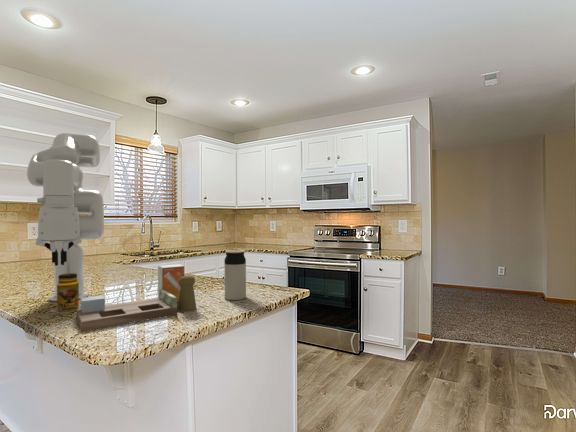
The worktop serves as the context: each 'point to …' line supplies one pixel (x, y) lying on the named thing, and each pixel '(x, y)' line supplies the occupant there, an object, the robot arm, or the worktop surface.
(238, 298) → the travel mug
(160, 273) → the small box
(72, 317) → the worktop surface
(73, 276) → the condiment
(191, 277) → the pepper mill
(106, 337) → the worktop surface
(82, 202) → the robot arm
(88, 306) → the block
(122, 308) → the board
